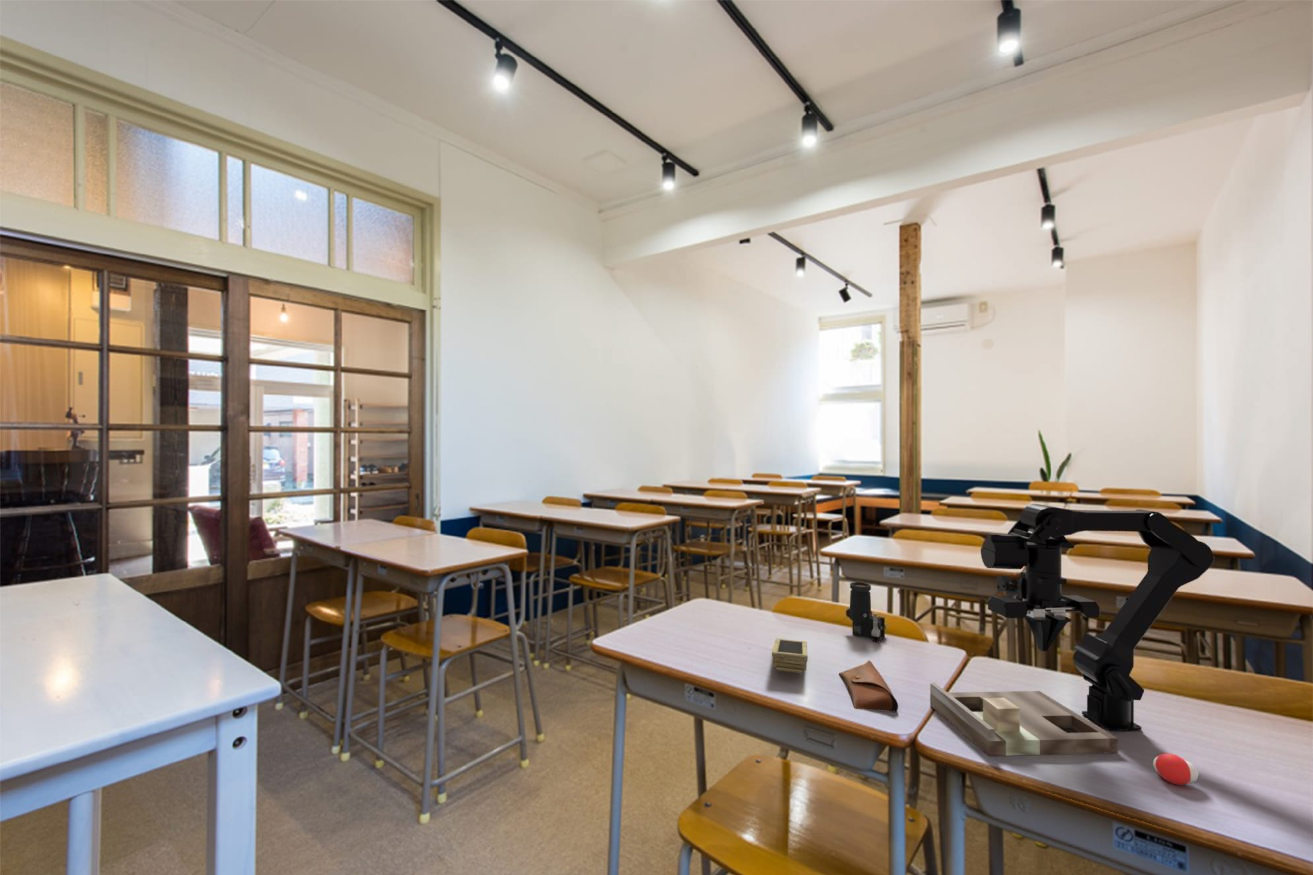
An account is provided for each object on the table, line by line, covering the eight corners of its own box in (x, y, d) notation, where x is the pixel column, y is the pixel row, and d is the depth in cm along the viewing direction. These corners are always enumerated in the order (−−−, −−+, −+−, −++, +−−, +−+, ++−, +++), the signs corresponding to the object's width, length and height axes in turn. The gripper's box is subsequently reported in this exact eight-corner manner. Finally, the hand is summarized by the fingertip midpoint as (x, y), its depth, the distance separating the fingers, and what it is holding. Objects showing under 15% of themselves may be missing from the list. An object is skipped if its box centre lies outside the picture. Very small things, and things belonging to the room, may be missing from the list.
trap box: (1039, 703, 113) (1039, 681, 113) (1117, 752, 95) (1117, 726, 95) (930, 705, 111) (930, 682, 111) (988, 755, 93) (988, 729, 93)
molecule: (1163, 786, 85) (1163, 759, 85) (1148, 769, 90) (1148, 743, 90) (1204, 794, 84) (1205, 766, 84) (1187, 776, 88) (1187, 750, 88)
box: (771, 675, 121) (771, 652, 122) (773, 655, 143) (773, 635, 144) (809, 680, 120) (810, 656, 120) (806, 659, 141) (806, 638, 142)
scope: (878, 591, 145) (840, 584, 152) (877, 644, 145) (840, 635, 152) (887, 585, 152) (851, 579, 158) (887, 635, 151) (851, 627, 158)
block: (1004, 719, 101) (1004, 697, 101) (1019, 731, 97) (1019, 708, 97) (983, 720, 101) (983, 698, 101) (997, 731, 97) (997, 708, 97)
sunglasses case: (835, 671, 127) (851, 647, 127) (862, 688, 126) (878, 664, 126) (854, 709, 109) (872, 681, 109) (886, 729, 109) (904, 701, 108)
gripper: (1056, 560, 115) (1056, 635, 115) (970, 561, 114) (970, 636, 114) (1102, 573, 104) (1102, 656, 104) (1007, 574, 103) (1007, 657, 103)
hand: (1042, 650), depth 107 cm, fingers closed
